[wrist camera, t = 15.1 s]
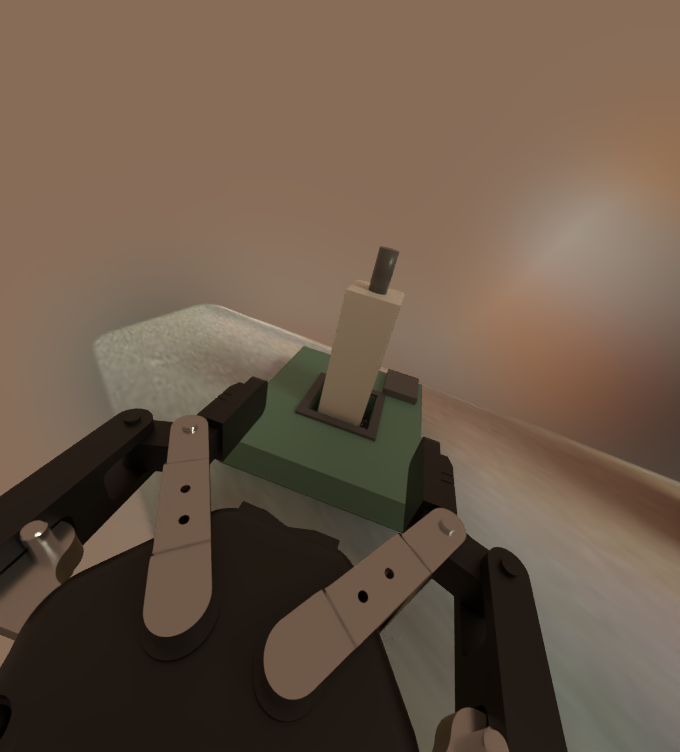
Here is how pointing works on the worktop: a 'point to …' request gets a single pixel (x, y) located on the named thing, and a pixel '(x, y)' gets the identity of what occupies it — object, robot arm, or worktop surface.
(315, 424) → the green square socket base
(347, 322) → the plug
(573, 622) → the worktop surface
